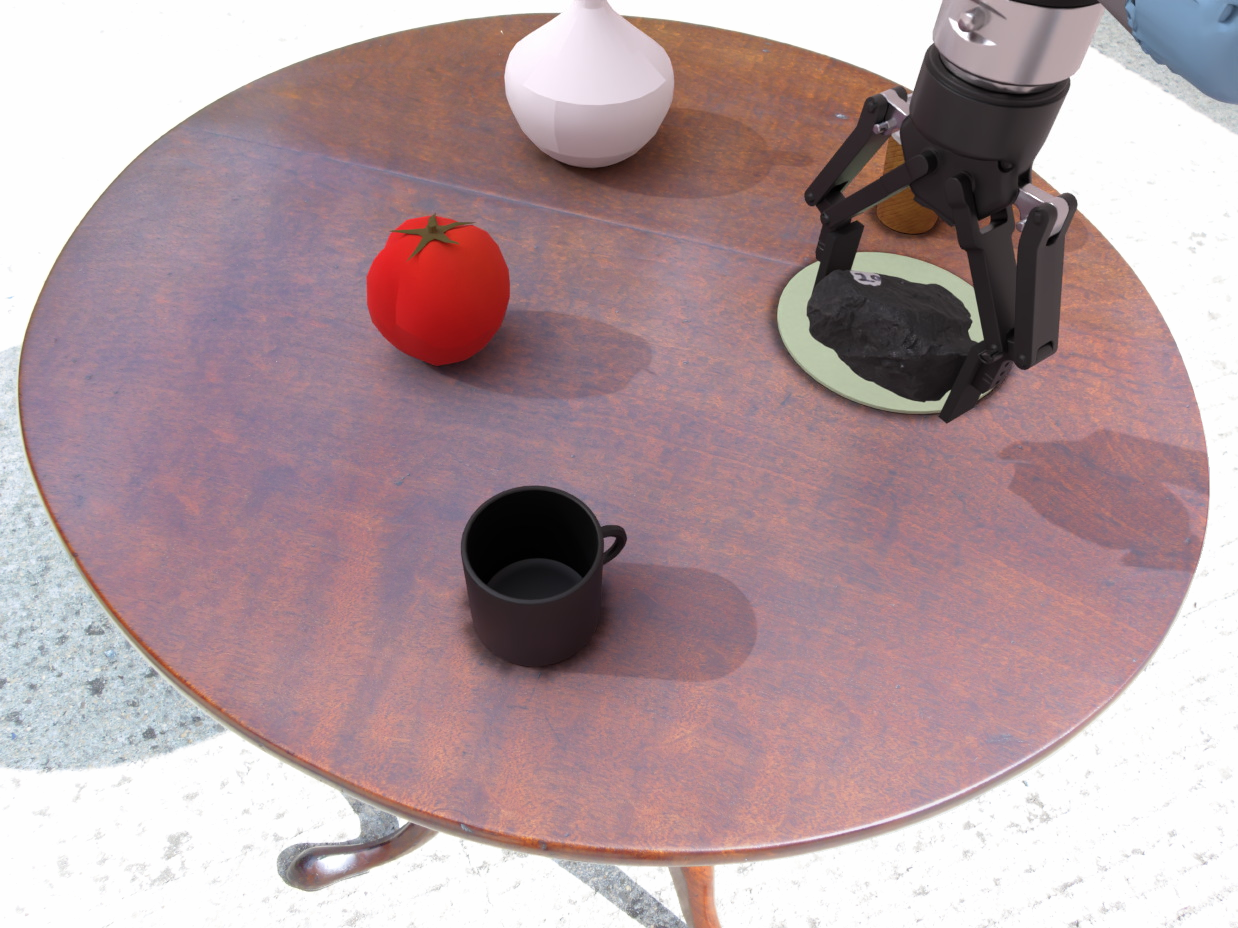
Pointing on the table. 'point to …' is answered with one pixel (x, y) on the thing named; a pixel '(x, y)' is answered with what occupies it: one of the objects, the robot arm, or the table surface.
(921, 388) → the rock
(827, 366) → the mat
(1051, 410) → the table surface
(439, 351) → the tomato
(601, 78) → the vase
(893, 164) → the disposable coffee cup
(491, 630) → the mug
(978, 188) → the robot arm
